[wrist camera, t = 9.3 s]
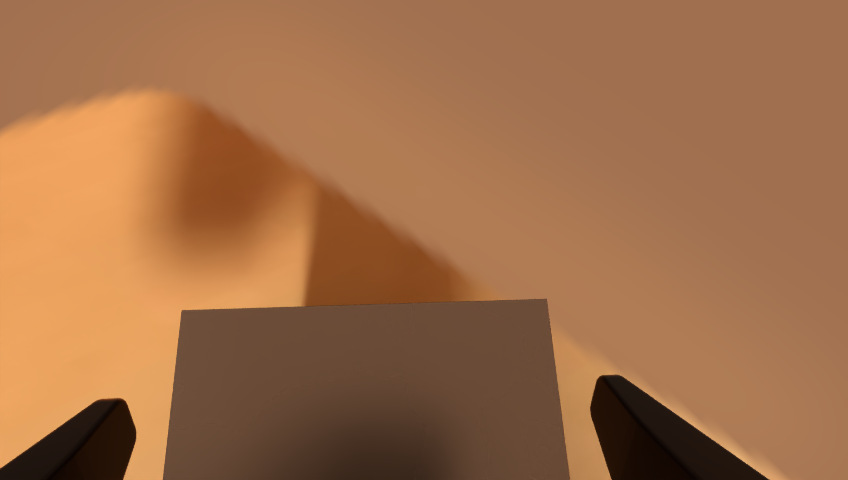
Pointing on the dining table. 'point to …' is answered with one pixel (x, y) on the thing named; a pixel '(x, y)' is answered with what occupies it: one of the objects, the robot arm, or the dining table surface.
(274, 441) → the grey rectangular block
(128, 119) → the dining table surface
